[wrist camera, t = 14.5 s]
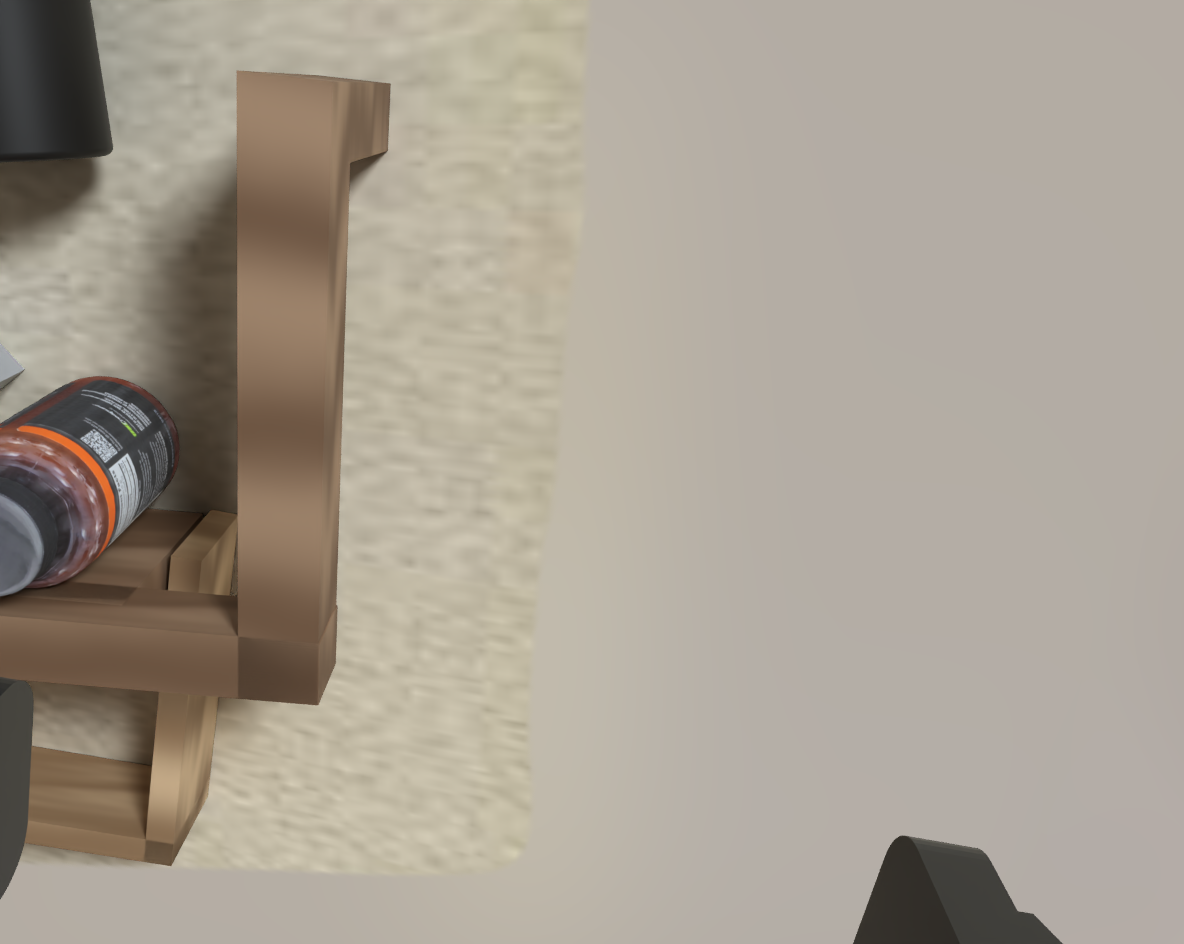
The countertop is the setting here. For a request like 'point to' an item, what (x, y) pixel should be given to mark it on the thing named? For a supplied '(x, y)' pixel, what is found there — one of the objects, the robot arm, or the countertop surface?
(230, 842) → the countertop surface
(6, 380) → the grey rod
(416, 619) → the countertop surface
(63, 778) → the light wood frame
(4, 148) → the black box
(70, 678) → the walnut crook
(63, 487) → the supplement bottle
